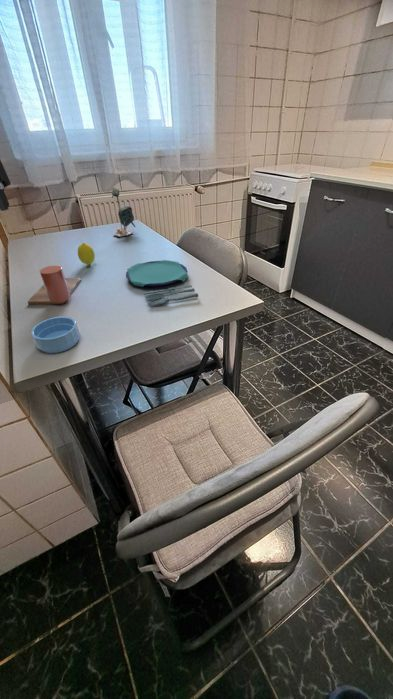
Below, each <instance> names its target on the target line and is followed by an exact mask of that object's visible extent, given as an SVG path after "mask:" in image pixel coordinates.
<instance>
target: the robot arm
mask: <svg viewBox="0 0 393 699" xmlns="http://www.w3.org/2000/svg"><path fill="white" fill-rule="evenodd" d="M11 183H12V182H11V180H10V178H9V176H8V174H7V172H6V169H5V167H4V165H3V163H2V160H1V159H0V211H1V212H5V211H9V207H10V203H9V200H8V197H7V196H6V193H5V188H7V187H10V186H11Z"/></svg>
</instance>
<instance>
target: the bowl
mask: <svg viewBox="0 0 393 699" xmlns="http://www.w3.org/2000/svg"><path fill="white" fill-rule="evenodd" d="M30 333H31V337H32V340H33V342H34V344H35V346H36V348H37V349H38V350H40V351H42V352H44V353H47V354H57V353H62V352H65V351H68V350H70V349H71V348H73V347H75V345H77V344H78V342H79V339H80V335H81V334H80V331H79V327H78V324H77V322H76V320H75V319H74V318H73V317H69V316H55V317H50V318H47V319H43V320H42V321H40V322H39V323H37V324H35V326H33V328H32V329H31V331H30Z"/></svg>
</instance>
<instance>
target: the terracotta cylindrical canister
mask: <svg viewBox="0 0 393 699" xmlns="http://www.w3.org/2000/svg"><path fill="white" fill-rule="evenodd" d="M39 274H40V277H41V280H42V283H43V285H44V286H45V288H46V291H47V294H48V297H49V299H50V301H51V302H54V303H59V302H64V301H66V302H67V301H68V300H69V299H71V297H72V296H71V295H70V293H69V289H68V286H67V283H66V280H65V278H66V277H65V274H64V270H63V267H62V266H60V265H49V266H45V267H43V268H41V269H39Z"/></svg>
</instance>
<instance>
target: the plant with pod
mask: <svg viewBox="0 0 393 699" xmlns="http://www.w3.org/2000/svg"><path fill="white" fill-rule="evenodd" d="M111 190H112V191H111V195H112V196H111V199H113V198H114V197H115V198H116V200H117V206H118V214H117V215H118V219H119V223H120V227H118V228H116V232H113V235H114V236H116V237H125V236H129V235H131V234H132V232H130V231H128V230H127V227H128V226H129V225H130V224H132V226H133V227H134V228H136V225H135V223H134V220H135V216H134V214H133V208H132V206H130V205H127V204H126V205H124V206H122V207H120V200H119V196H120V189H119V188H118V187H116V186H113V187H112V189H111ZM122 226H123V227H122Z"/></svg>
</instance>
